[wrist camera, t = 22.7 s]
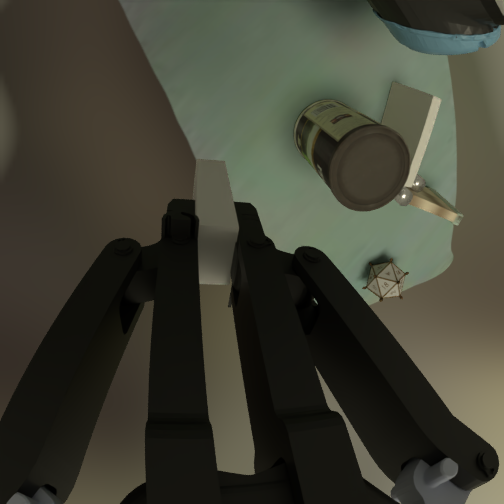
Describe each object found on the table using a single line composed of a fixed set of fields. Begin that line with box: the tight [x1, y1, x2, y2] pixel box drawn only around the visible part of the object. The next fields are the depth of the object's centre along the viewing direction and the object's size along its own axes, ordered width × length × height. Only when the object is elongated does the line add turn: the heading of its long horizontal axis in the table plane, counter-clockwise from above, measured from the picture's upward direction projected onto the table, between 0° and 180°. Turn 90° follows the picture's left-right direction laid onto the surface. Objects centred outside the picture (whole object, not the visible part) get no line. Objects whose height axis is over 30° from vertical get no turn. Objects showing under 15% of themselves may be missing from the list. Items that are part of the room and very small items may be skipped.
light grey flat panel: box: [381, 82, 441, 188], centre depth 38 cm, size 13×2×10 cm, turn 170°
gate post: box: [394, 186, 413, 206], centre depth 43 cm, size 2×2×10 cm
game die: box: [362, 258, 409, 302], centre depth 58 cm, size 9×8×10 cm
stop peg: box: [410, 174, 425, 193], centre depth 44 cm, size 2×2×8 cm
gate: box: [405, 186, 463, 225], centre depth 45 cm, size 13×2×9 cm, turn 71°
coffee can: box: [294, 100, 411, 211], centre depth 37 cm, size 10×10×14 cm
